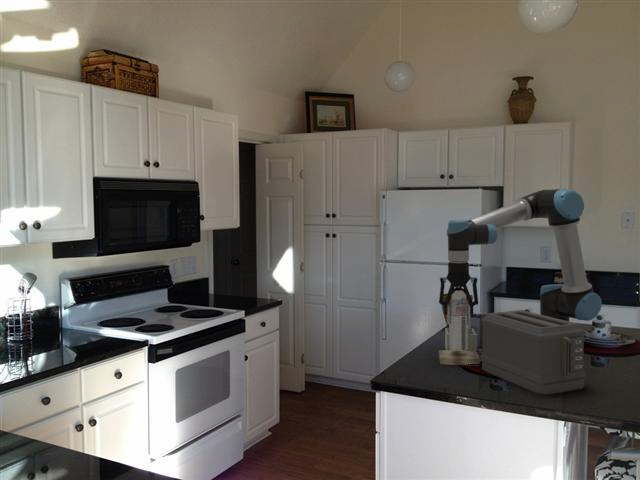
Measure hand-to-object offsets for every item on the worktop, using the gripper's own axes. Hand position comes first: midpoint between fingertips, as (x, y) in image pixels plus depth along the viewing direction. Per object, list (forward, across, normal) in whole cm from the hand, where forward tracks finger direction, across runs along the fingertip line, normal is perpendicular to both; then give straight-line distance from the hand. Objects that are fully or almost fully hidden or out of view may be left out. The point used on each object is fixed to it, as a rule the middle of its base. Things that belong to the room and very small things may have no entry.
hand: (458, 323), depth 218 cm
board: (+14, 0, 0) cm, 14 cm away
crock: (+14, -2, -14) cm, 20 cm away
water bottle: (+10, 0, 0) cm, 10 cm away
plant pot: (+15, -4, -54) cm, 56 cm away
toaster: (+15, -22, +19) cm, 32 cm away
